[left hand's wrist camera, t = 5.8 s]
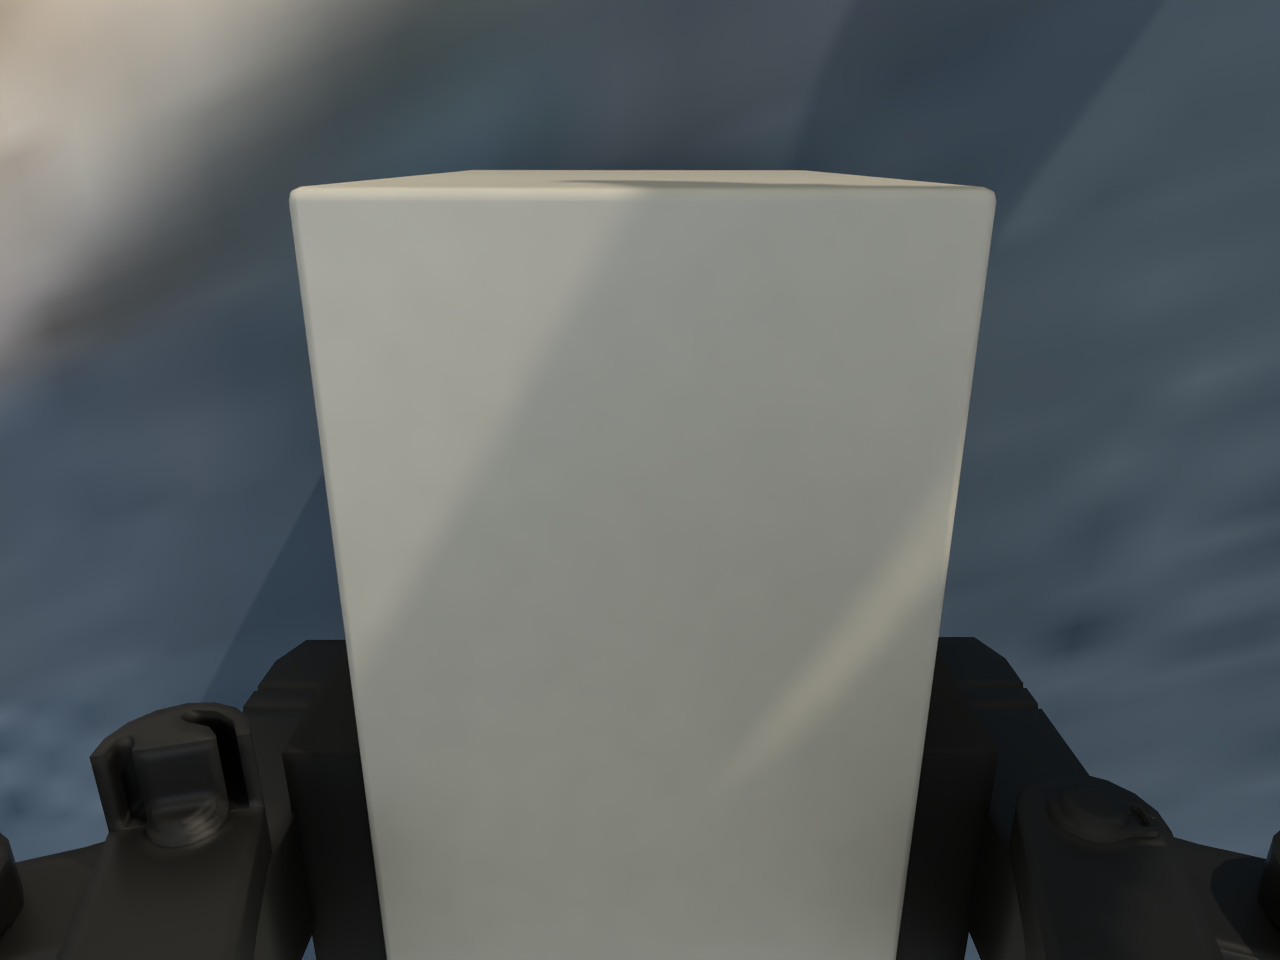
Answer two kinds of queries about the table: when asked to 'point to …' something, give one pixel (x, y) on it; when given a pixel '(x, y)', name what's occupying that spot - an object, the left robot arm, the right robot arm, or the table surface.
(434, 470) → the post
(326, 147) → the table surface
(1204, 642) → the table surface
